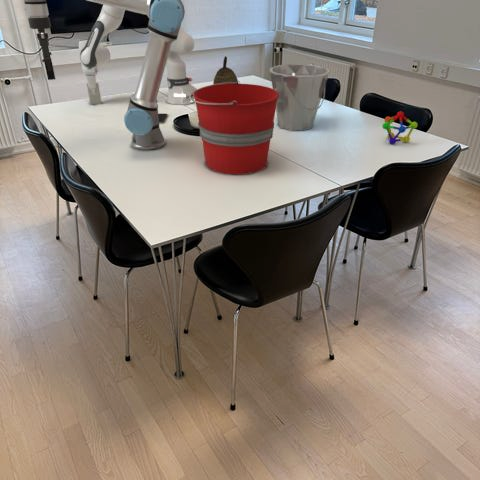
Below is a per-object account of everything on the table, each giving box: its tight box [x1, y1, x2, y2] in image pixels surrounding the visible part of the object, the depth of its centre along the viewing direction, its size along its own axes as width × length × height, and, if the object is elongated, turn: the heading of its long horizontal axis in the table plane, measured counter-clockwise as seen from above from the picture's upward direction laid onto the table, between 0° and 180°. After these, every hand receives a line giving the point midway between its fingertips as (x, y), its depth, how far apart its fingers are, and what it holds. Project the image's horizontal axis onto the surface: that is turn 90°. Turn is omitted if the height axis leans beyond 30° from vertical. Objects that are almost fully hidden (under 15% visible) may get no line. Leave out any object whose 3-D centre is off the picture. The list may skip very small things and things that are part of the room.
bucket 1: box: [190, 81, 279, 175], centre depth 181 cm, size 35×35×30 cm
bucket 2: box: [269, 63, 330, 131], centre depth 226 cm, size 30×30×28 cm
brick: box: [86, 82, 103, 106], centre depth 265 cm, size 5×6×11 cm
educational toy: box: [382, 110, 418, 145], centre depth 207 cm, size 16×13×15 cm
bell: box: [212, 56, 239, 85], centre depth 278 cm, size 19×26×20 cm
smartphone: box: [158, 113, 169, 124], centre depth 241 cm, size 7×1×15 cm
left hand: (51, 76), depth 177 cm, fingers open, 13 cm apart
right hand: (94, 93), depth 265 cm, fingers closed on brick, 5 cm apart
